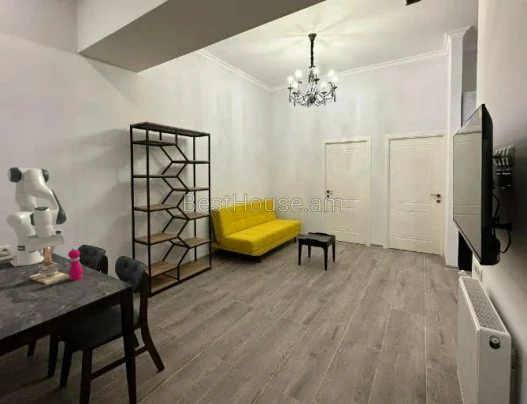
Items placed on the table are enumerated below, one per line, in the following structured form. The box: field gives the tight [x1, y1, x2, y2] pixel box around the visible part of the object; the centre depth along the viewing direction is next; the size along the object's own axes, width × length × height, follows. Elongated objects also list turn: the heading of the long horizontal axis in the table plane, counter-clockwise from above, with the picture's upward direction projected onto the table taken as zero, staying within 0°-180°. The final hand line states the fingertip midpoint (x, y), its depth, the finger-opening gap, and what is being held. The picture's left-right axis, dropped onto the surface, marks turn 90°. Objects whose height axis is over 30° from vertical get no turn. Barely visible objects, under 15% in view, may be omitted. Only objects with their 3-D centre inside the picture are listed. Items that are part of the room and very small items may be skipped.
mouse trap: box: [29, 261, 70, 285], centre depth 167 cm, size 20×12×9 cm, turn 63°
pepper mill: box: [67, 247, 84, 281], centre depth 165 cm, size 7×7×20 cm
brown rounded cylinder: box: [42, 243, 53, 266], centre depth 166 cm, size 4×4×16 cm
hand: (47, 254), depth 166 cm, fingers closed on brown rounded cylinder, 4 cm apart
